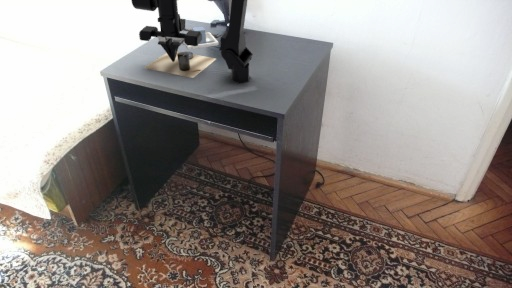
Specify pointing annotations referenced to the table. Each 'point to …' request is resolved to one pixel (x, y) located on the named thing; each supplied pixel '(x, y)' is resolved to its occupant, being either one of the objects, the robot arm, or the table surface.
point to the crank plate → (168, 66)
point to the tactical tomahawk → (205, 32)
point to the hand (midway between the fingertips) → (173, 61)
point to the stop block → (201, 33)
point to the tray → (208, 38)
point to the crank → (184, 60)
